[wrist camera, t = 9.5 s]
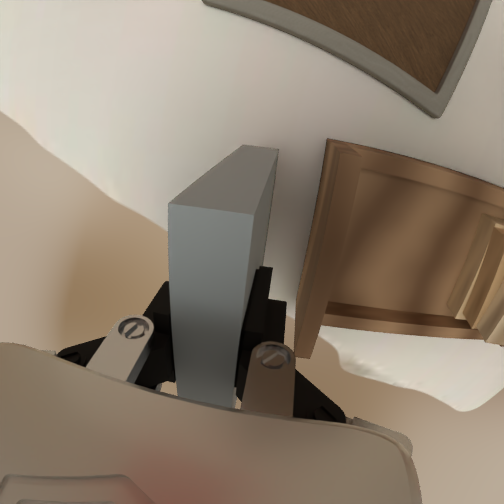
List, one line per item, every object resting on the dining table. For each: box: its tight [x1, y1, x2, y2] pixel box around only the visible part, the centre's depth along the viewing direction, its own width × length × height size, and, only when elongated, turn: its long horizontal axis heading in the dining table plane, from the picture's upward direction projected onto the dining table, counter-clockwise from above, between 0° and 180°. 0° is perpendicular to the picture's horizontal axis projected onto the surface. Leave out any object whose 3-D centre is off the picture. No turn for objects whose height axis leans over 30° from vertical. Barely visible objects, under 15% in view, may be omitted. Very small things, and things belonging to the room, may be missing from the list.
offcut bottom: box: [447, 213, 504, 320], centre depth 21 cm, size 7×9×2 cm
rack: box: [294, 138, 504, 359], centre depth 20 cm, size 23×14×7 cm, turn 84°
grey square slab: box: [168, 145, 279, 408], centre depth 14 cm, size 2×10×11 cm, turn 174°
